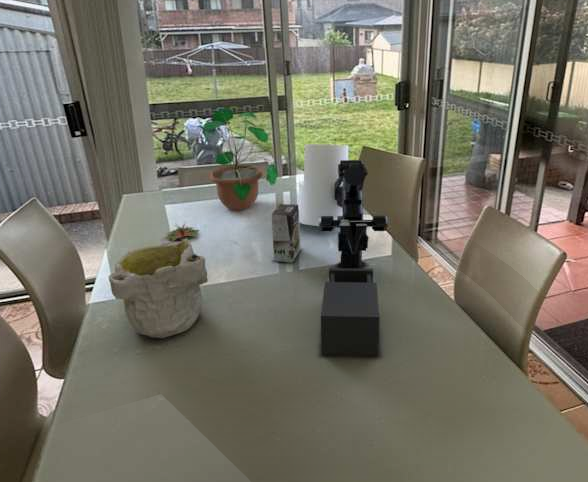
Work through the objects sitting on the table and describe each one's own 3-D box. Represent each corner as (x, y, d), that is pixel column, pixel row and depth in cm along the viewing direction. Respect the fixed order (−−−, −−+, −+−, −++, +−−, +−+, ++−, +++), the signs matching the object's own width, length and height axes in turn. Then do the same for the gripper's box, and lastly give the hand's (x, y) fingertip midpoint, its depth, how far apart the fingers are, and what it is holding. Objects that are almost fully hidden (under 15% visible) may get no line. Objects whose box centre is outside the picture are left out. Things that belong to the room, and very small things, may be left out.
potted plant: (275, 218, 169) (269, 115, 155) (200, 218, 170) (187, 116, 156) (284, 190, 198) (280, 102, 184) (221, 190, 199) (211, 102, 184)
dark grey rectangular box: (325, 317, 111) (324, 281, 107) (375, 318, 111) (376, 282, 107) (321, 355, 99) (320, 315, 95) (377, 356, 98) (379, 317, 94)
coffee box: (293, 263, 137) (290, 215, 131) (273, 261, 138) (270, 214, 132) (301, 249, 145) (299, 204, 140) (282, 247, 147) (279, 203, 141)
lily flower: (186, 245, 149) (184, 233, 147) (157, 240, 152) (155, 228, 151) (206, 231, 159) (205, 219, 158) (179, 226, 163) (177, 215, 161)
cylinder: (354, 223, 160) (358, 146, 157) (317, 227, 149) (320, 144, 145) (324, 216, 173) (327, 144, 170) (288, 219, 162) (290, 143, 158)
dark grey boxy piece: (330, 288, 122) (330, 260, 119) (371, 289, 122) (372, 261, 118) (326, 325, 107) (326, 294, 104) (373, 326, 106) (374, 295, 103)
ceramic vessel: (86, 282, 112) (140, 201, 111) (173, 314, 125) (221, 241, 124) (78, 333, 93) (143, 235, 92) (181, 364, 105) (239, 278, 104)
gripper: (382, 210, 132) (385, 261, 126) (320, 210, 132) (320, 261, 126) (386, 195, 122) (389, 250, 116) (319, 196, 122) (318, 250, 116)
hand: (353, 253), depth 119 cm, fingers closed
